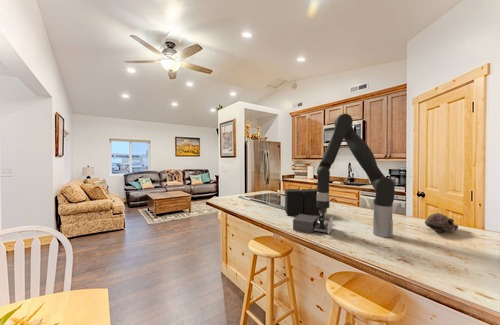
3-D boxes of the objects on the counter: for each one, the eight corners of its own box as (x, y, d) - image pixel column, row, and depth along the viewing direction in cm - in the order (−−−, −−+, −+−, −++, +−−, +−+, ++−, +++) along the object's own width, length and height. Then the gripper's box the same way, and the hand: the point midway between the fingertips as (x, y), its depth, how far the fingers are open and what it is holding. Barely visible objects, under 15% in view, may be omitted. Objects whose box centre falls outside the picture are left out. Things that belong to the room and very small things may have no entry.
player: (317, 226, 140) (317, 216, 139) (312, 233, 127) (312, 222, 127) (299, 223, 145) (299, 213, 145) (293, 229, 133) (293, 219, 133)
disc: (328, 224, 132) (328, 220, 132) (327, 227, 127) (327, 223, 127) (318, 222, 135) (318, 219, 135) (316, 225, 130) (316, 221, 130)
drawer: (332, 227, 135) (332, 217, 135) (329, 234, 123) (329, 223, 123) (317, 225, 139) (317, 215, 139) (313, 231, 128) (313, 221, 127)
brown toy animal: (444, 239, 116) (445, 221, 115) (417, 232, 126) (418, 215, 126) (461, 230, 129) (461, 214, 128) (435, 224, 139) (435, 209, 139)
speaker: (316, 211, 174) (316, 188, 173) (320, 215, 163) (320, 191, 163) (285, 211, 174) (284, 189, 174) (287, 215, 164) (287, 191, 163)
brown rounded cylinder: (329, 223, 145) (329, 217, 145) (328, 224, 142) (328, 219, 142) (323, 222, 147) (323, 217, 147) (322, 223, 144) (322, 218, 143)
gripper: (327, 202, 122) (327, 231, 123) (331, 197, 135) (331, 224, 136) (314, 201, 126) (314, 229, 127) (318, 196, 139) (318, 222, 139)
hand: (322, 226), depth 131 cm, fingers closed on disc, 5 cm apart
